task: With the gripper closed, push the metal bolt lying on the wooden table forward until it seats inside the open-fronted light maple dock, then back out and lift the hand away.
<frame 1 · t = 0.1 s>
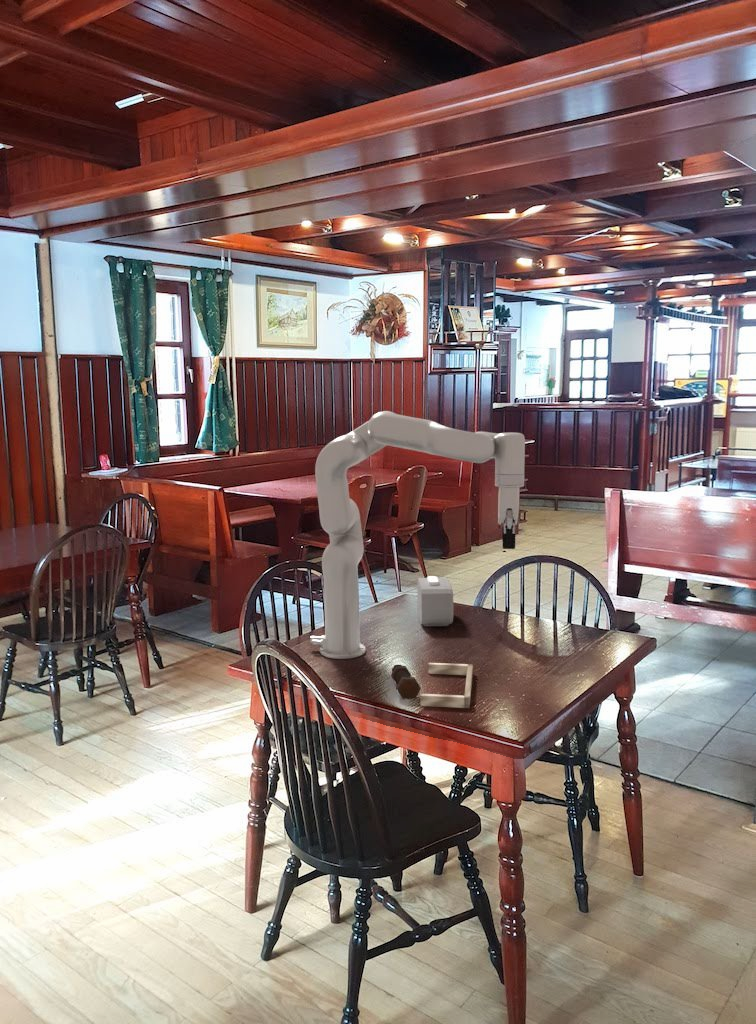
hand: (508, 544, 215), 31 cm above the table, tool pointing down, fingers open, 9 cm apart
grey rounded box: (434, 621, 255), on the table
bolt: (403, 688, 200), on the table
dock: (445, 688, 199), on the table
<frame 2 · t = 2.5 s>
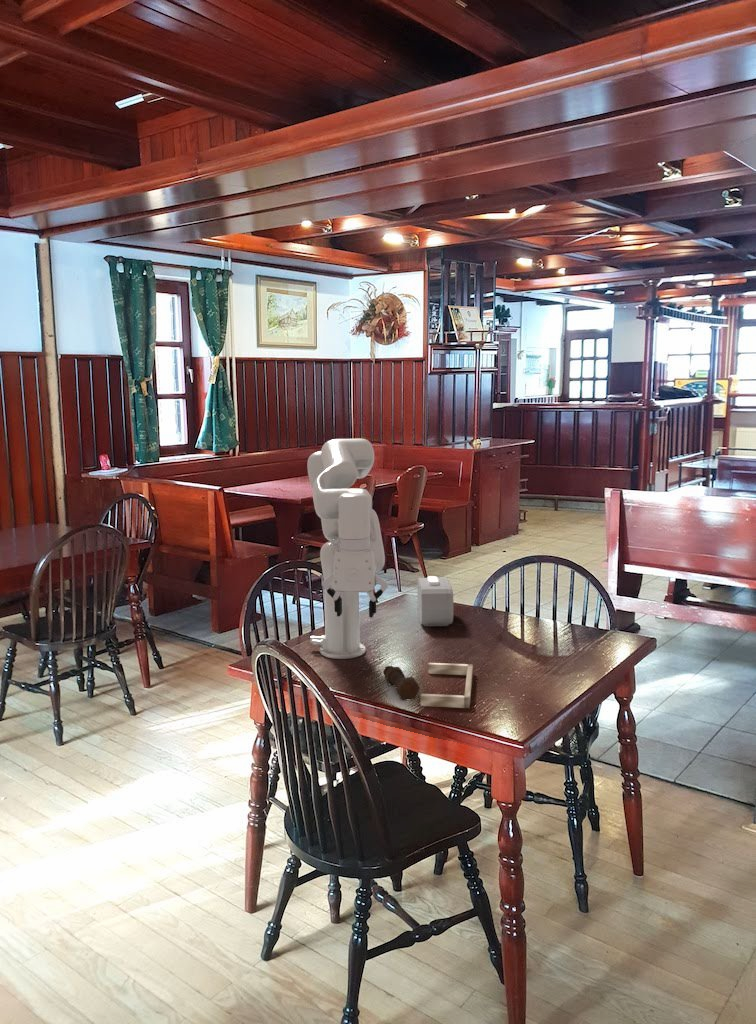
hand: (355, 615, 199), 18 cm above the table, tool pointing down, fingers open, 7 cm apart
bolt: (399, 689, 200), on the table
everything else where it was.
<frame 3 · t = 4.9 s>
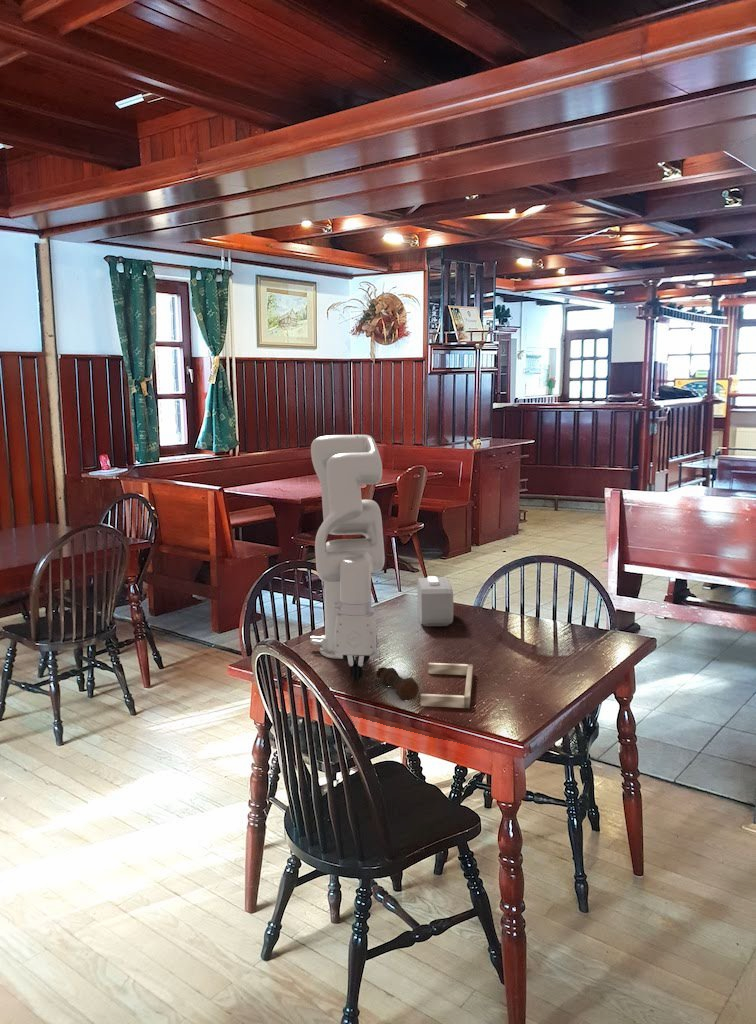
hand: (356, 679, 202), 1 cm above the table, tool pointing down, fingers closed
bolt: (395, 691, 199), on the table
everything else where it was.
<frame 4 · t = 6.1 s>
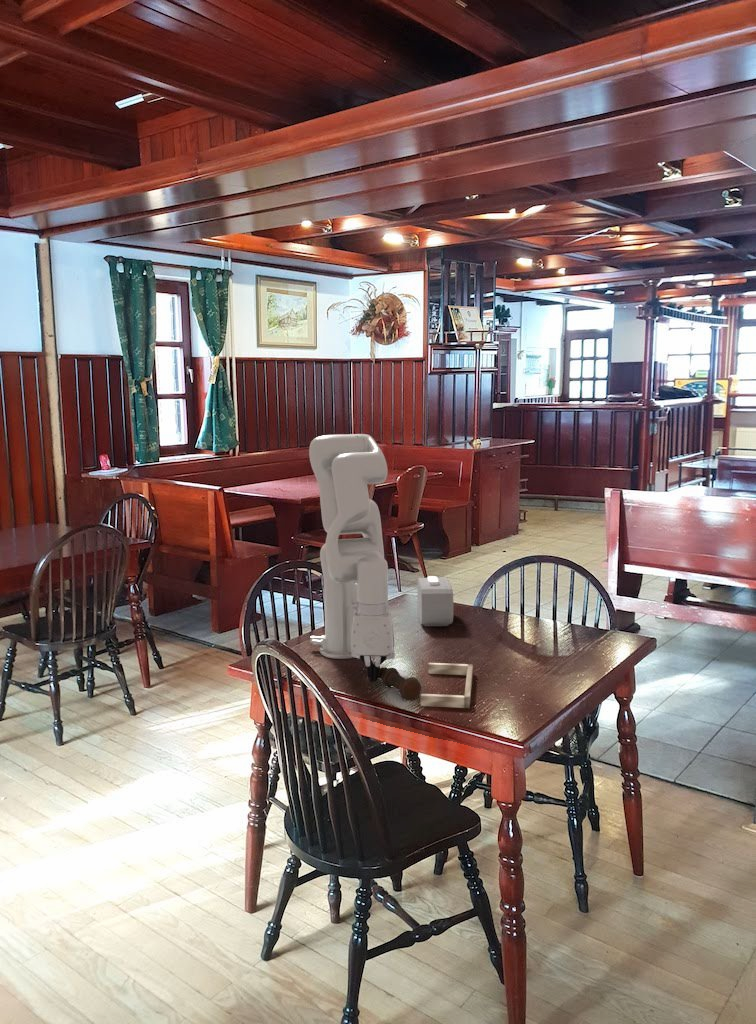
hand: (373, 680, 201), 1 cm above the table, tool pointing down, fingers closed
bolt: (397, 690, 199), on the table, touching gripper
everything else where it was.
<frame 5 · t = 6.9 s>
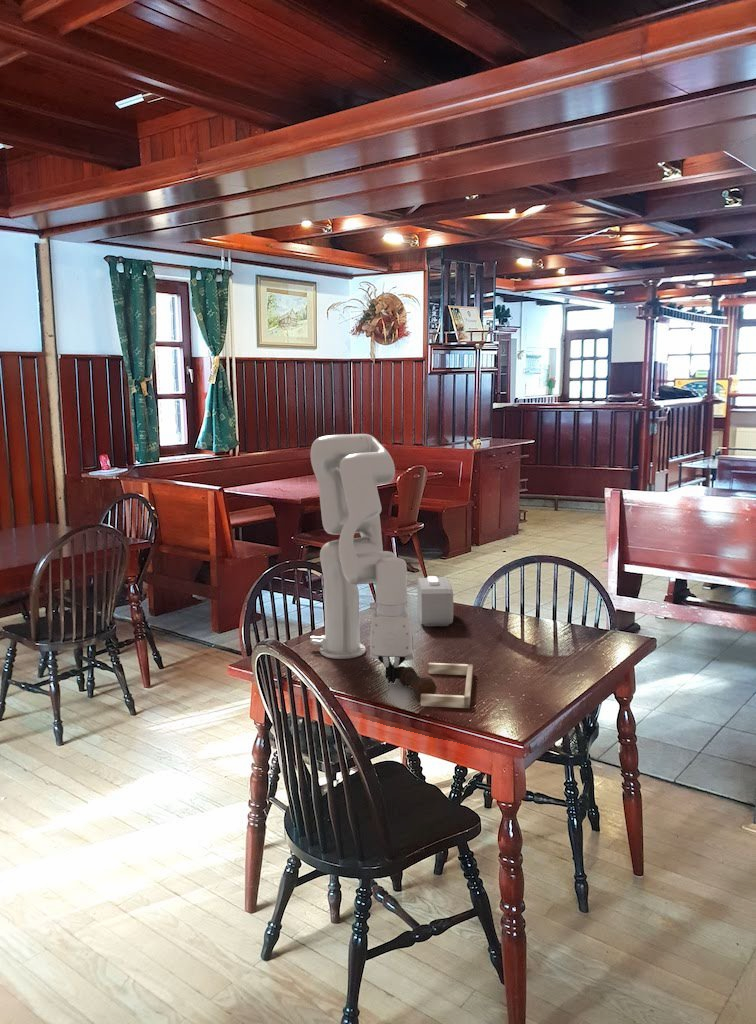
hand: (392, 681, 200), 1 cm above the table, tool pointing down, fingers closed
bolt: (413, 690, 199), on the table, touching gripper
everything else where it was.
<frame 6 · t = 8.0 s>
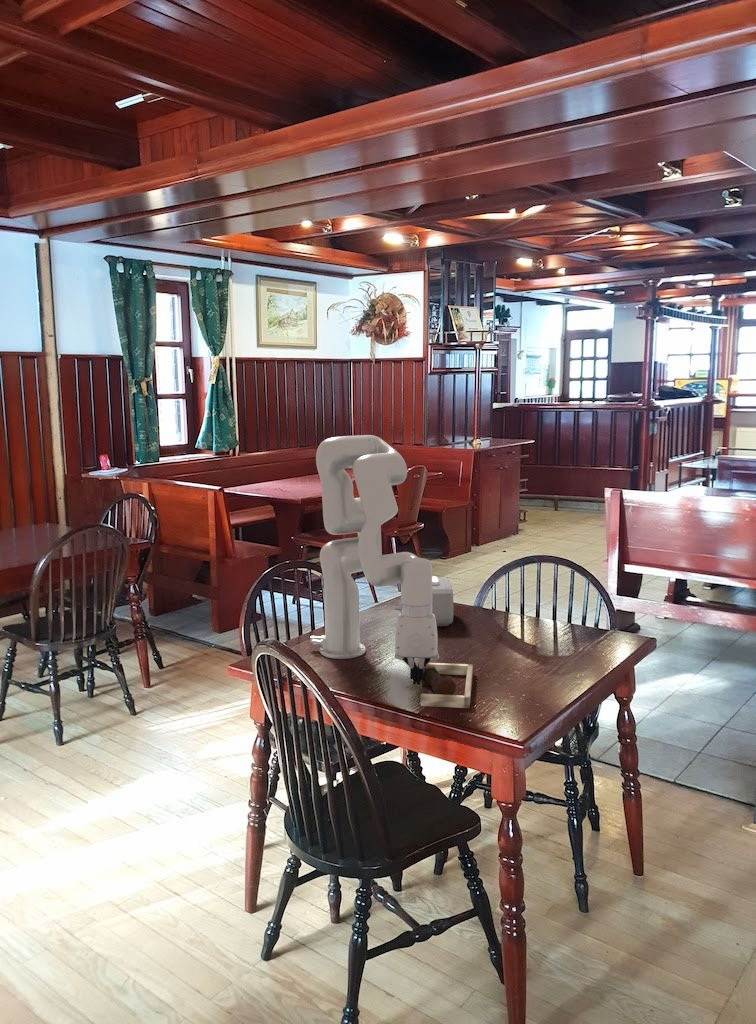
hand: (416, 682, 199), 1 cm above the table, tool pointing down, fingers closed
bolt: (434, 688, 200), on the table, touching gripper
everything else where it was.
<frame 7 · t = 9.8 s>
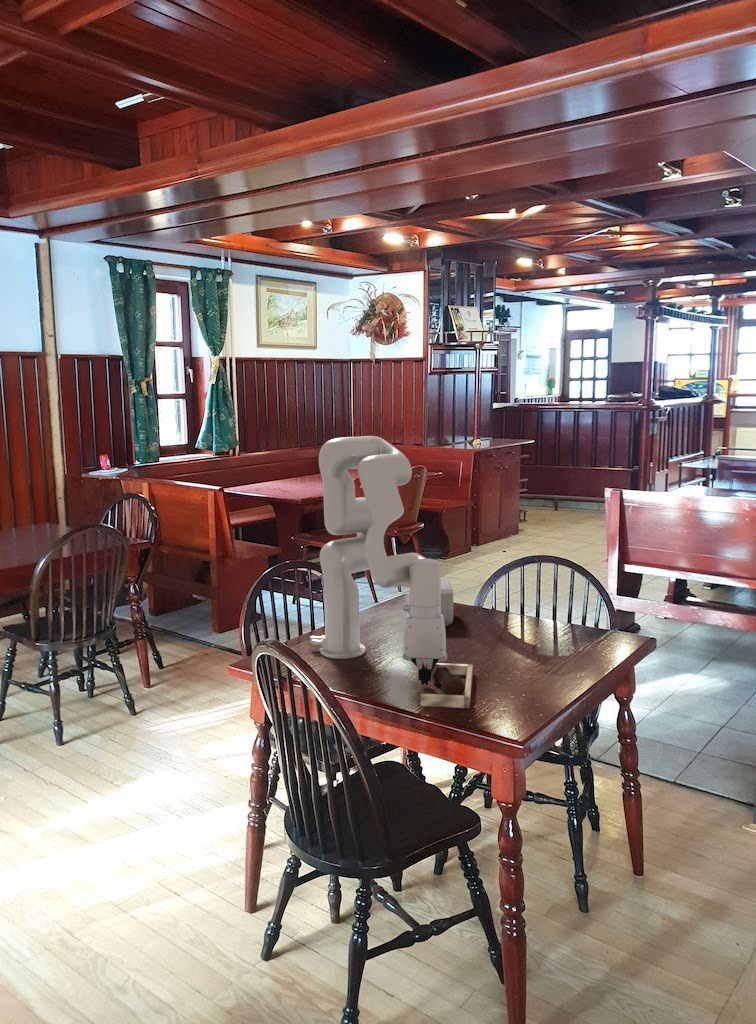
hand: (424, 683, 199), 1 cm above the table, tool pointing down, fingers closed
bolt: (445, 688, 200), on the table
everything else where it was.
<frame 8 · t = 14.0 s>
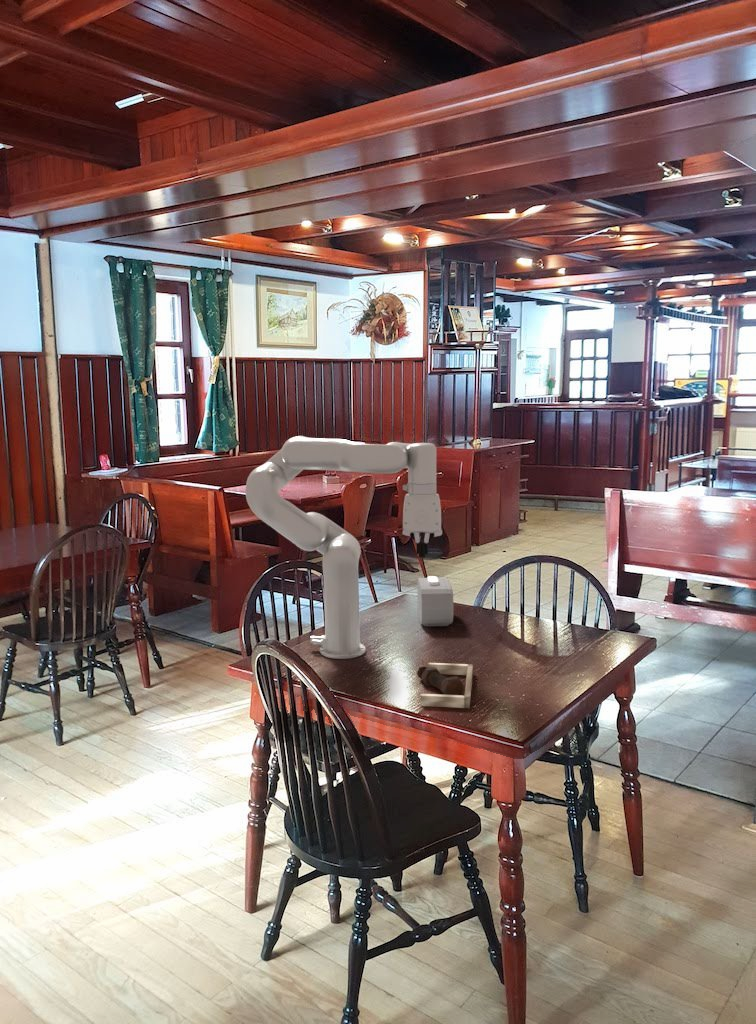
hand: (422, 556, 221), 27 cm above the table, tool pointing down, fingers closed
bolt: (438, 690, 199), on the table
everything else where it was.
at the end: bolt inside the target area on the dock (1.7 cm from its centre), point -0.5 cm above the dock's base; bolt moved 8.1 cm from its start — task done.
